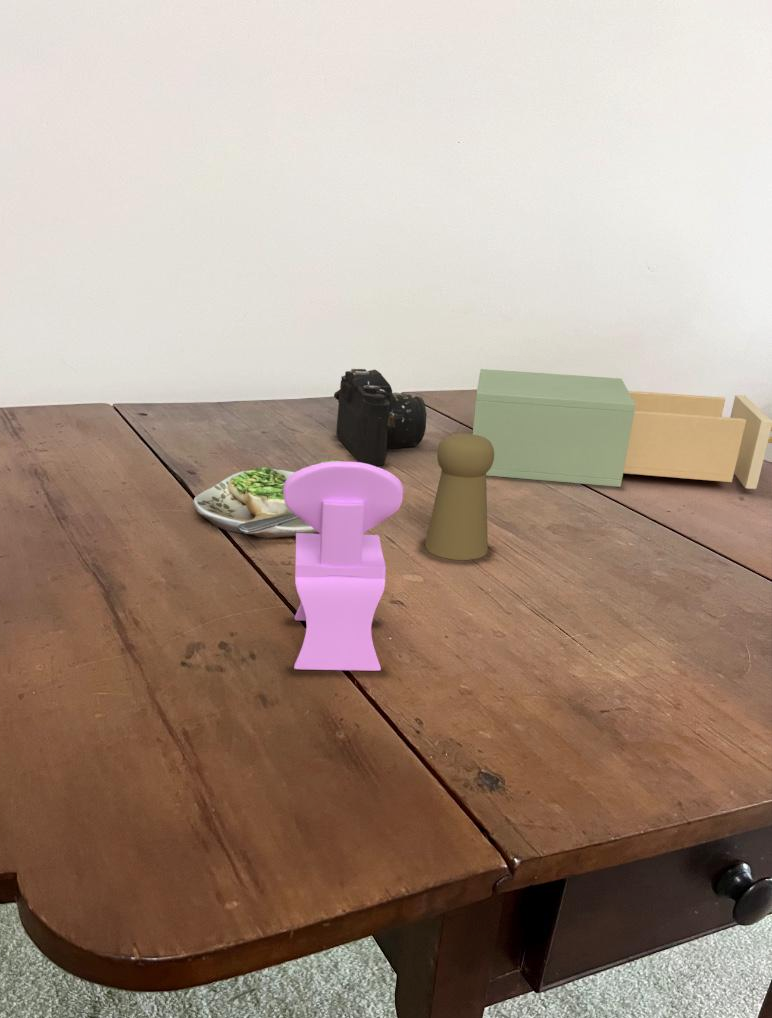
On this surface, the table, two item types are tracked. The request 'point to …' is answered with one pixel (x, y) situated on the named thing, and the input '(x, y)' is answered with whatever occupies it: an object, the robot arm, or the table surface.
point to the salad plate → (252, 504)
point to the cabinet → (555, 426)
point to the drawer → (697, 438)
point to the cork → (461, 498)
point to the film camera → (376, 416)
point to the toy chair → (340, 560)
